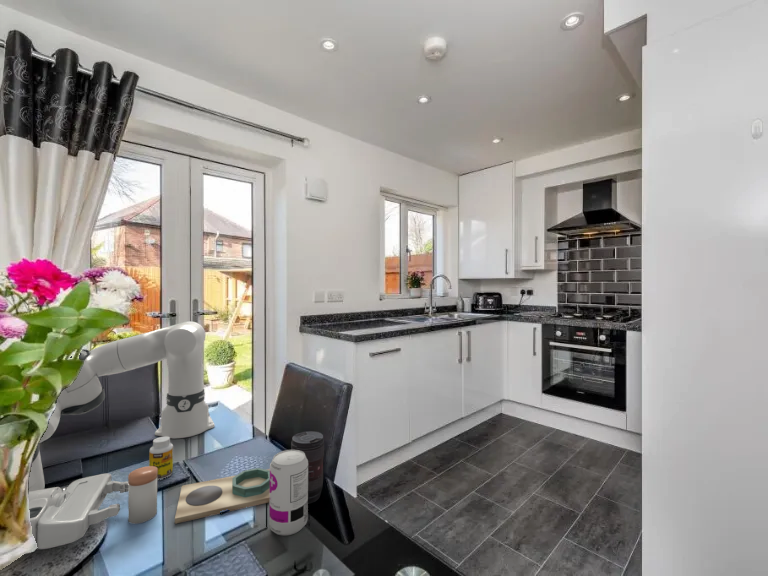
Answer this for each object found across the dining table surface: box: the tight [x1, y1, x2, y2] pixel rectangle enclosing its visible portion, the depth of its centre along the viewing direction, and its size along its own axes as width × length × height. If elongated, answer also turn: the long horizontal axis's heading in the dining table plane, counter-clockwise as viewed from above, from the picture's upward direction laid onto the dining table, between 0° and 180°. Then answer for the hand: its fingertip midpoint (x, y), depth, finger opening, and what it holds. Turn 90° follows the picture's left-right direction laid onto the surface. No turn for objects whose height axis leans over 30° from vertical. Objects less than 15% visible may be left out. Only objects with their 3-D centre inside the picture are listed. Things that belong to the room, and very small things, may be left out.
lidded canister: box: [127, 465, 158, 525], centre depth 81 cm, size 6×6×10 cm
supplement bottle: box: [148, 436, 174, 481], centre depth 98 cm, size 6×6×10 cm
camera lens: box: [290, 430, 325, 504], centre depth 89 cm, size 8×8×15 cm
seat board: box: [174, 467, 270, 525], centre depth 89 cm, size 14×22×3 cm, turn 114°
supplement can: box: [268, 449, 309, 536], centre depth 79 cm, size 8×8×15 cm
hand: (124, 497), depth 79 cm, fingers open, 8 cm apart
